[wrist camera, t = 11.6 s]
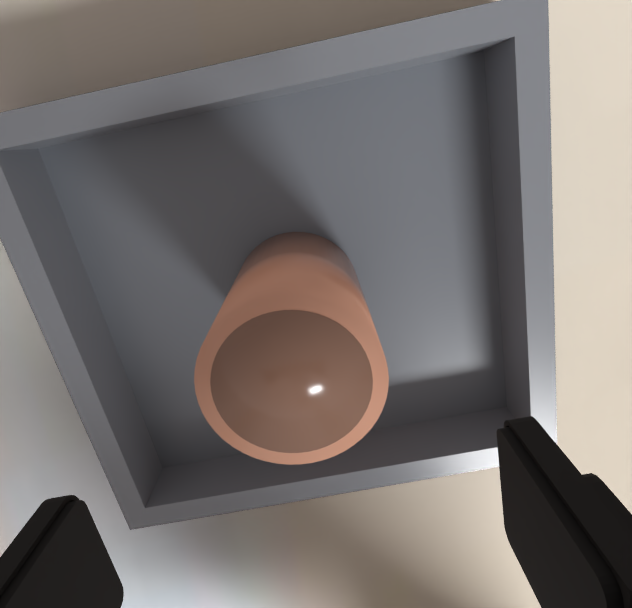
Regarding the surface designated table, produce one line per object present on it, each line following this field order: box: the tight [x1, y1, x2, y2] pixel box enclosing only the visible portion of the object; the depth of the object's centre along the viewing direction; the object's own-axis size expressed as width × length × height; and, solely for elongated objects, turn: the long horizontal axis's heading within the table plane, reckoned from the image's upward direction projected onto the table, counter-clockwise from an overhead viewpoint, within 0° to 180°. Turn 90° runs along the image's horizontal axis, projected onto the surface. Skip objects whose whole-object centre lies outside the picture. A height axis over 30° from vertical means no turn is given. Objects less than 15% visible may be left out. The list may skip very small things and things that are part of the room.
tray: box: [0, 0, 557, 530], centre depth 22 cm, size 20×22×4 cm
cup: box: [194, 232, 389, 465], centre depth 18 cm, size 6×6×9 cm
